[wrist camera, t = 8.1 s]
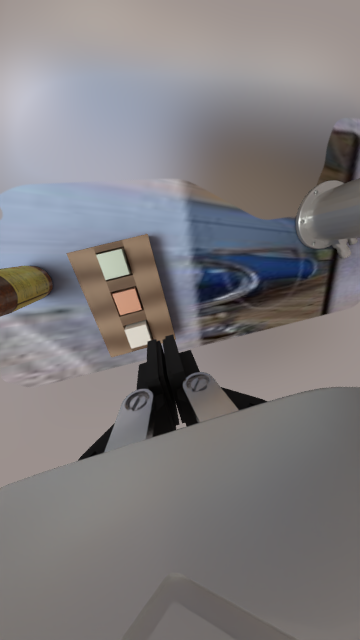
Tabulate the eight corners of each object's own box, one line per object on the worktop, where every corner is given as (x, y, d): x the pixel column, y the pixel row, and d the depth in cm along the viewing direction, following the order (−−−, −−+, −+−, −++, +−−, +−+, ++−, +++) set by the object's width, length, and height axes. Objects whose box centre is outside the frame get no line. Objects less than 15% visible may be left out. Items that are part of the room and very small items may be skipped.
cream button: (126, 324, 38) (124, 330, 35) (146, 319, 38) (145, 324, 35) (132, 342, 39) (131, 348, 37) (151, 336, 40) (151, 343, 37)
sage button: (100, 255, 33) (96, 255, 30) (123, 249, 33) (121, 248, 30) (109, 278, 34) (105, 280, 32) (130, 272, 35) (129, 274, 32)
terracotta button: (115, 291, 36) (112, 294, 34) (135, 286, 37) (134, 288, 34) (122, 310, 38) (120, 315, 35) (142, 305, 38) (141, 309, 35)
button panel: (75, 253, 34) (66, 253, 31) (147, 236, 35) (147, 233, 32) (114, 348, 42) (111, 357, 38) (173, 332, 43) (175, 339, 39)
